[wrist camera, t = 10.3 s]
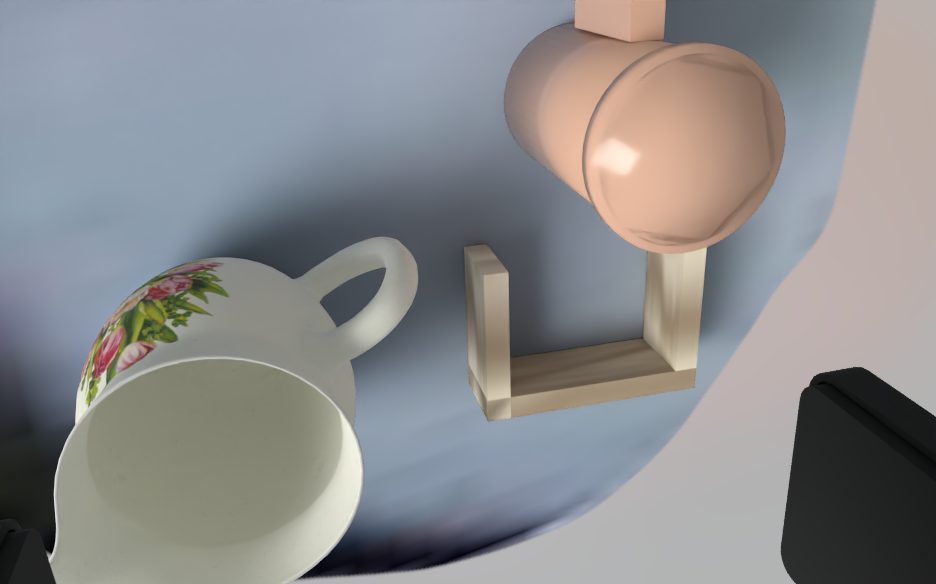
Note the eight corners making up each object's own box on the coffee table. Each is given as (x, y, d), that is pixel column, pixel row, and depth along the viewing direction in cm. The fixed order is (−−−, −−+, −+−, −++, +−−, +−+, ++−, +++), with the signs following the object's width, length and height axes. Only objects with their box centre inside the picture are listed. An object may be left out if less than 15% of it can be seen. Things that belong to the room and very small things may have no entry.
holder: (463, 246, 42) (483, 275, 38) (670, 222, 44) (706, 247, 40) (469, 383, 45) (488, 421, 41) (661, 353, 47) (694, 387, 44)
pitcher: (450, 280, 42) (531, 419, 30) (184, 491, 43) (157, 708, 31) (310, 114, 37) (338, 198, 25) (14, 356, 38) (-99, 550, 26)
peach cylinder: (493, -117, 35) (597, -144, 25) (655, -122, 37) (820, -148, 26) (499, 180, 41) (587, 265, 30) (640, 166, 42) (772, 241, 32)
